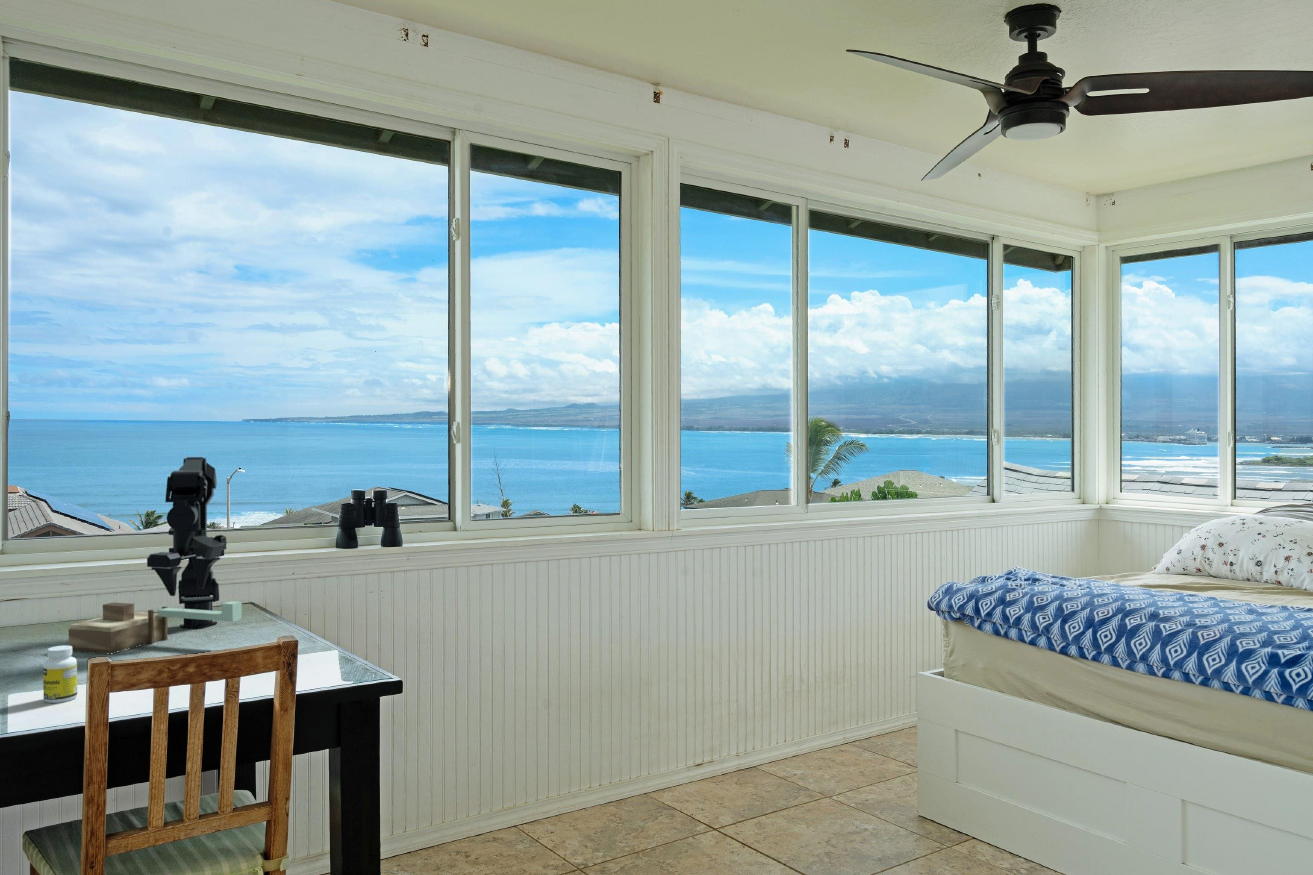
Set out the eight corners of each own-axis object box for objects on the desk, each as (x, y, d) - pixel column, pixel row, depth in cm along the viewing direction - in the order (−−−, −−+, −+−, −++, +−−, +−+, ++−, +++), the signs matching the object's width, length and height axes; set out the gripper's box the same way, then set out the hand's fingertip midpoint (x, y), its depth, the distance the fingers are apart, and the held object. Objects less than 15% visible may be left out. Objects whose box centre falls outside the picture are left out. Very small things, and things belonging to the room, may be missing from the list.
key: (167, 613, 225) (167, 597, 225) (241, 618, 220) (241, 601, 219) (157, 616, 222) (157, 599, 222) (232, 621, 217) (232, 604, 217)
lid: (125, 618, 230) (125, 596, 230) (164, 621, 227) (164, 599, 227) (70, 632, 215) (70, 609, 215) (110, 635, 212) (110, 611, 212)
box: (122, 635, 231) (122, 603, 231) (169, 638, 227) (169, 606, 227) (65, 650, 215) (64, 616, 215) (114, 654, 212) (114, 619, 211)
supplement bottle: (36, 701, 176) (36, 649, 176) (63, 693, 181) (63, 643, 181) (57, 704, 174) (56, 652, 174) (84, 696, 179) (83, 645, 179)
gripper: (187, 531, 208) (187, 601, 209) (243, 521, 226) (243, 586, 227) (144, 529, 211) (145, 599, 211) (203, 520, 229) (204, 584, 229)
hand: (187, 592), depth 220 cm, fingers open, 9 cm apart
